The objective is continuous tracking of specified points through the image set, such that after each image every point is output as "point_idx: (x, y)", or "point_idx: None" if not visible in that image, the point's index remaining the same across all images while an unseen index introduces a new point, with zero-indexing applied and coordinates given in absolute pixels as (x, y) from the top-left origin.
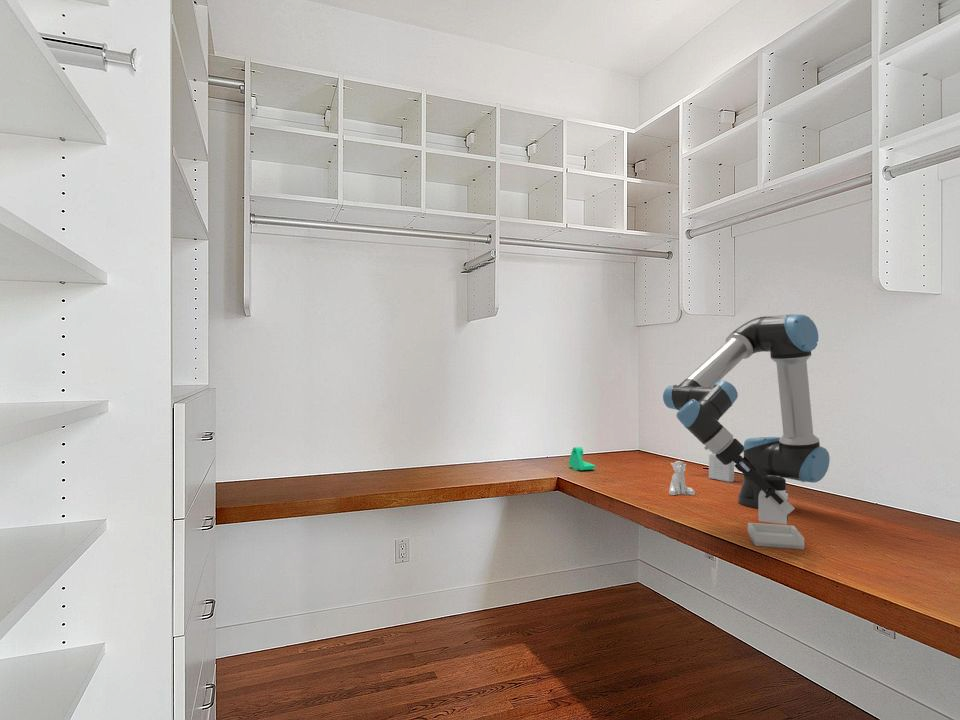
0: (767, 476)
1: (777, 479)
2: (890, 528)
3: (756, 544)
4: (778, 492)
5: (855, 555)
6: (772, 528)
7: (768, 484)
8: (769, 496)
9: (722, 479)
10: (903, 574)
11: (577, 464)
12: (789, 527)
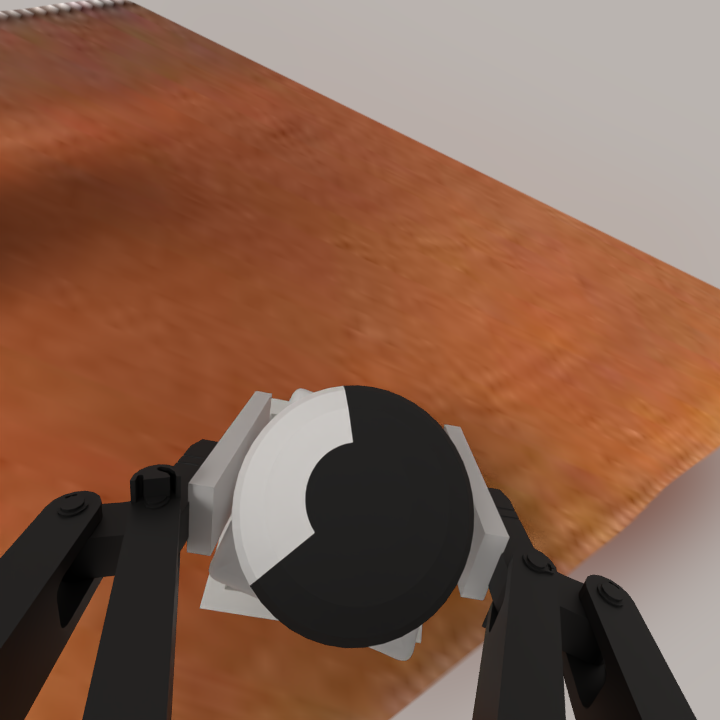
0: (355, 572)
1: (459, 489)
2: (184, 123)
3: None
4: (500, 517)
5: (449, 314)
6: None
7: (663, 671)
8: (485, 590)
9: None
10: (572, 282)
11: None
12: (270, 419)
